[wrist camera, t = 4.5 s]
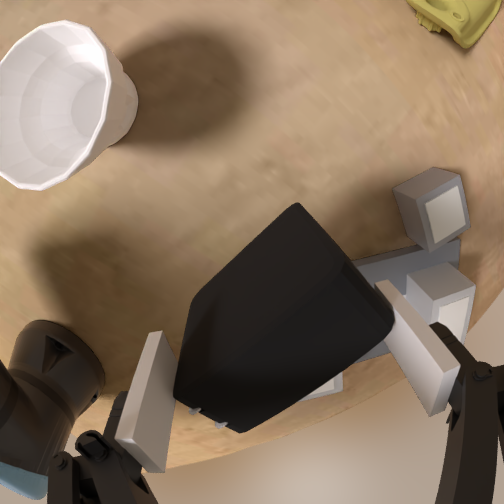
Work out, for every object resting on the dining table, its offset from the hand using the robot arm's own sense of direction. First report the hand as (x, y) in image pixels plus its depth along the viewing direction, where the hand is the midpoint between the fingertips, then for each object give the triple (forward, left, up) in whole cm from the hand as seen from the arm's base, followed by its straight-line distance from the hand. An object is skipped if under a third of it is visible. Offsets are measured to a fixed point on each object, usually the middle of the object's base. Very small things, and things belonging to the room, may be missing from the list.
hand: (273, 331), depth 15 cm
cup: (-12, +16, -17) cm, 26 cm away
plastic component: (+28, +24, -17) cm, 41 cm away
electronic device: (0, 0, -7) cm, 7 cm away
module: (+18, -1, -17) cm, 25 cm away
